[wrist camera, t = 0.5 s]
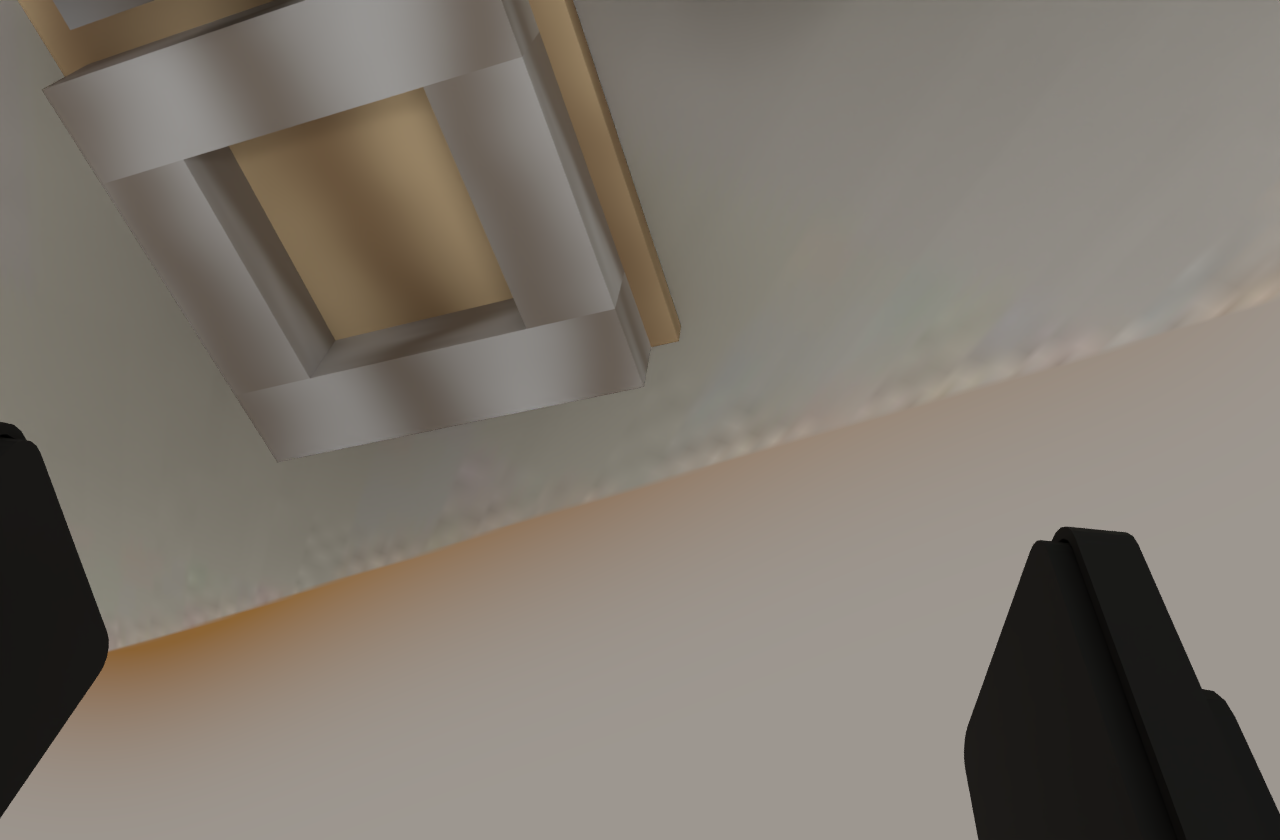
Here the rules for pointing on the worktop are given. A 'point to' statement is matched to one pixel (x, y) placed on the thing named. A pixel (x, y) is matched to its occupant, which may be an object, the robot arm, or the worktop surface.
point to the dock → (371, 202)
